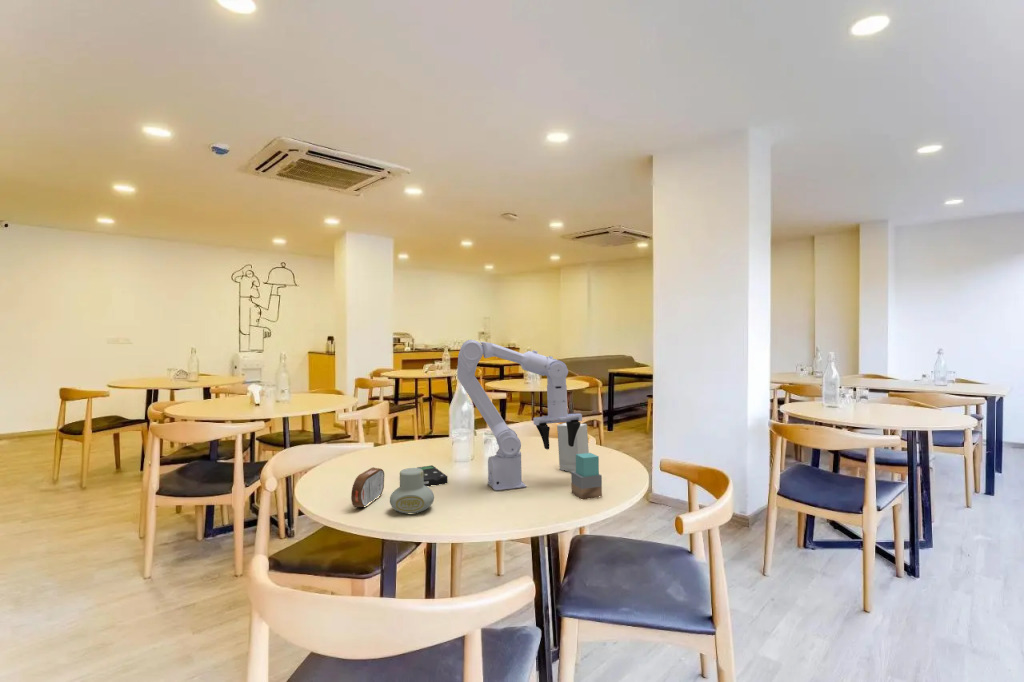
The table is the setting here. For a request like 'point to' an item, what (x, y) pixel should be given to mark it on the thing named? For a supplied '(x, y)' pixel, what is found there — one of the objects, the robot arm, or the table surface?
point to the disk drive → (433, 476)
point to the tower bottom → (586, 492)
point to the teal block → (587, 464)
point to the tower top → (586, 481)
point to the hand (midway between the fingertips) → (559, 447)
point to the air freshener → (411, 492)
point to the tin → (367, 487)
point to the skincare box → (569, 453)
